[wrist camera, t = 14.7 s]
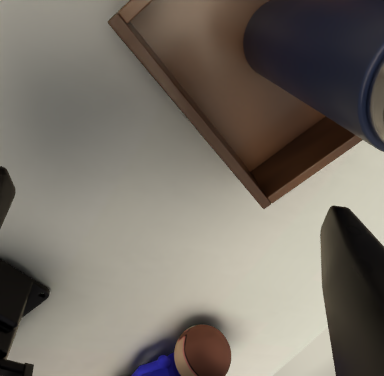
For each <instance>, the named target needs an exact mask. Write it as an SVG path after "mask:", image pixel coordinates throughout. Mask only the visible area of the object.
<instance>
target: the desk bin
mask: <svg viewBox="0 0 384 376" xmlns="http://www.w3.org/2000/svg"><path fill="white" fill-rule="evenodd" d="M269 1H271V0H130V1H129V2H128V3H127V4H126V5H124V6H123V7H122V8H121V9H120V10H119V11H118V12H117V13H116V14H115V15H114V16H113V17H112V18H111V19H110V20H109V21H108V24H109V25H110V26H111V27H112V29H113V30H114V31H115V32H116V33H117V35H118V36H119V37H120V38H121V39H122V41H123V42H124V43H125V44H126V45H127V47H128V48H129V49H130V50H131V51H132V52H133V54H134V55H135V56H136V57H137V58H138V60H139V61H140V62H141V63H142V64H143V66H144V67H145V68H146V69H147V70H148V72H149V73H150V74H151V75H152V76H153V78H154V79H155V80H156V81H157V82H158V84H159V85H160V86H161V87H162V88H163V90H164V91H165V92H166V93H167V94H168V96H169V97H170V98H171V99H172V100H173V102H174V103H175V104H176V105H177V106H178V107H179V109H180V110H181V111H182V112H183V113H184V115H185V116H186V117H187V118H188V119H189V121H190V122H191V123H192V124H193V125H194V127H195V128H196V129H197V130H198V131H199V133H200V134H201V135H202V136H203V137H204V139H205V140H206V141H207V142H208V143H209V145H210V146H211V147H212V148H213V149H214V151H215V152H216V153H217V154H218V155H219V157H220V158H221V159H222V160H223V161H224V162H225V164H226V165H227V166H228V167H229V168H230V170H231V171H232V172H233V173H234V174H235V176H236V177H237V178H238V179H239V180H240V182H241V183H242V184H243V185H244V186H245V188H246V189H247V190H248V191H249V192H250V194H251V195H252V196H253V197H254V198H255V200H256V201H257V202H258V203H259V204H260V206H261V207H262V208H263V209H265V208H266V207H268V206H269V205H271V203H273V202H275V201H276V200H278V199H279V198H281V197H282V196H283V195H285V194H286V193H288V192H289V191H291V190H292V189H293V188H295V187H296V186H298V185H299V184H301V183H302V182H303V181H305V180H306V179H308V178H309V177H311V176H312V175H313V174H315V173H316V172H318V171H319V170H320V169H322V168H323V167H325V166H326V165H328V164H329V163H330V162H332V161H333V160H335V159H336V158H338V157H339V156H340V155H342V154H343V153H345V152H346V151H348V150H349V149H350V148H352V147H353V146H355V145H356V144H358V143H359V142H360V141H362V140H363V139H361V138H359V137H358V136H356V135H355V134H353V133H352V132H350V131H348V130H347V129H345V128H344V127H342V126H340V125H339V124H337V123H336V122H334V121H333V120H331V119H329V118H328V117H326V116H325V115H323V114H321V113H320V112H318V111H317V110H315V109H314V108H312V107H310V106H309V105H307V104H306V103H304V102H302V101H301V100H299V99H298V98H296V97H295V96H293V95H291V94H290V93H288V92H287V91H285V90H283V89H282V88H280V87H279V86H277V85H276V84H274V83H272V82H271V81H269V80H268V79H266V78H264V77H263V76H261V75H260V74H258V73H257V72H255V71H254V70H253V69H252V68H251V66H250V65H249V63H248V62H247V60H246V57H245V53H244V47H243V40H244V33H245V30H246V27H247V24H248V22H249V20H250V19H251V17H252V16H253V14H254V13H255V12H256V11H257V10H258V9H259V8H260V7H261V6H262V5H264V4H265V3H267V2H269Z"/></svg>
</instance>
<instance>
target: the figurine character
mask: <svg viewBox="0 0 384 376" xmlns="http://www.w3.org/2000/svg"><path fill="white" fill-rule="evenodd" d="M230 363H231V350H230V346H229V343H228V341H227V339H226V338H225V336H224V335H223V334H222V333H221V332H220V331H219V330H218V329H216V328H214V327H212V326H209V325H203V324H201V325H195V326H192V327H190V328H188V329H187V330H185V331H184V332H183V333H182V334H181V336H180V337H179V339H178V341H177V343H176V346H175V351H174V352H173V353H171V354H170V355H168V356H166V355H161V356H159V357H158V360H156V361H153V362H150V363H147V364H144V365H140V366H139V367H138V368H137V369H136V371H135V372H134V373H133V374H132V375H131V376H225V375H226V374H227V372H228V370H229V367H230Z"/></svg>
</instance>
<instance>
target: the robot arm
mask: <svg viewBox="0 0 384 376" xmlns="http://www.w3.org/2000/svg"><path fill="white" fill-rule="evenodd" d="M14 196H15V186H14V184H13V182H12V180H11V178H10V175H9V173H8V171H7V169H6V168H4V167H2V166H0V228H1V226H2V224H3V222H4V219H5V217H6V215H7V212H8V210H9V208H10V206H11V203H12V201H13V199H14ZM320 236H321V268H322V288H323V296H324V303H325V309H326V315H327V322H328V328H329V334H330V341H331V347H332V353H333V360H334V366H335V372H336V376H384V246H383V245H382V244H381V243H380V242H379V241H378V240H377V239H376V237H375V236H374V235H373V234H372V233H371V232H370V231H369V230H368V229H367V228H366V226H365V225H364V224H363V223H362V222H361V221H360V220H359V219H358V218H357V217H356V216H355V214H354V213H353V212H352V211H351V210H350V209H349V208H347V207H340V206H332V207H330V209H329V211H328V213H327V215H326V218H325V220H324V222H323V225H322V227H321V234H320ZM42 293H44V294H42ZM49 294H50V290H49V289H48V288H47V287H45V286H43V285H42V284H40V283H39V282H37V281H35V280H34V279H32V278H31V277H29V276H27V275H26V274H24V273H22V272H21V271H19V270H18V269H16V268H14V267H13V266H11V265H10V264H8V263H6V262H5V261H3V260H2V259H0V376H32V373H33V367H34V365H33V364H29V363H25V364H22V363H18V362H14V361H10V360H7V357H8V354H9V351H10V349H11V346H12V343H13V340H14V338H15V335H16V332H17V329H18V327H19V324H20V321H21V318H22V317H23V316H25V315H26V314H27V313H29V312H30V311H31V310H33V309H34V308H35V307H37V306H38V305H39V304H41V303H42V302H43V301H45V300H46V299H47V298H48V297H49Z"/></svg>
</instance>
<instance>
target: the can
mask: <svg viewBox="0 0 384 376" xmlns="http://www.w3.org/2000/svg"><path fill="white" fill-rule="evenodd" d="M243 47H244V53H245V57H246V60H247V62H248V63H249V65H250V66H251V68H252V69H253V70H254V71H255V72H257V73H258V74H260V75H261V76H263V77H264V78H266V79H268V80H269V81H271V82H272V83H274V84H276V85H277V86H279V87H280V88H282V89H283V90H285V91H287V92H288V93H290V94H291V95H293V96H295V97H296V98H298V99H299V100H301V101H302V102H304V103H306V104H307V105H309V106H310V107H312V108H314V109H315V110H317V111H318V112H320V113H321V114H323V115H325V116H326V117H328V118H329V119H331V120H333V121H334V122H336V123H337V124H339V125H340V126H342V127H344V128H345V129H347V130H348V131H350V132H352V133H353V134H355V135H356V136H358V137H359V138H361V139H363V140H364V141H366V142H367V143H369V144H371V145H372V146H374V147H375V148H377V149H379V150H381V151H383V152H384V0H271V1H269V2H267V3H265V4H264V5H262V6H261V7H260V8H259V9H258V10H257V11H256V12H255V13H254V14H253V16H252V17H251V19H250V20H249V22H248V24H247V27H246V30H245V33H244V40H243Z"/></svg>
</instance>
